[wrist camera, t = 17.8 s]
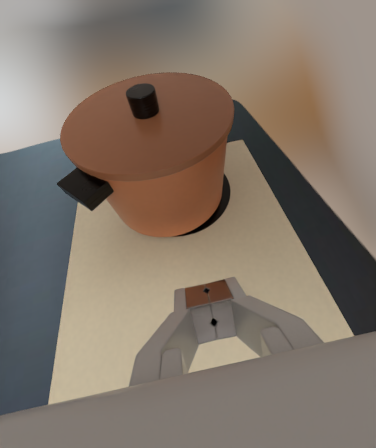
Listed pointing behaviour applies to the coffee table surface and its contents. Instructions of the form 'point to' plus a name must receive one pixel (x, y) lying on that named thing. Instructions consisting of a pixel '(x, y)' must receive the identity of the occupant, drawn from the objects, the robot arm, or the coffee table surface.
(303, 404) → the robot arm
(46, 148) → the coffee table surface
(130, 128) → the pot
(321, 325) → the hob
